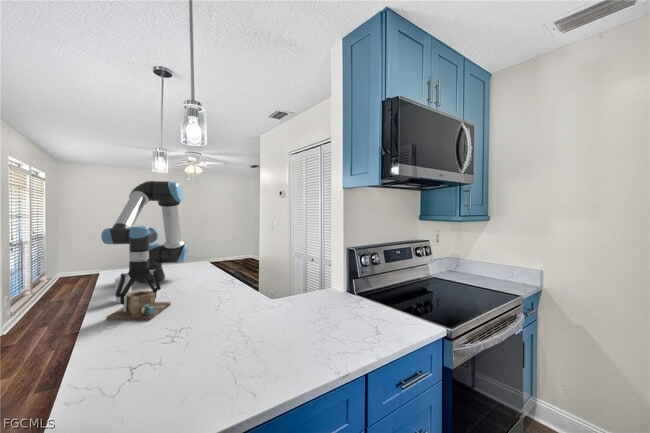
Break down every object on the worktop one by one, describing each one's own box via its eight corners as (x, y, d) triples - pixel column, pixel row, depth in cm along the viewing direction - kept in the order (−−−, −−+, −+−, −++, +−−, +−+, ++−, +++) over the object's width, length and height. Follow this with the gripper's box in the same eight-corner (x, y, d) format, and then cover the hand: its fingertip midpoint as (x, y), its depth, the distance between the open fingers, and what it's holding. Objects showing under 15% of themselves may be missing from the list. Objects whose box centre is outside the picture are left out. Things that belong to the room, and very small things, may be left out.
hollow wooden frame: (123, 309, 129) (123, 294, 129) (144, 304, 137) (144, 289, 136) (141, 317, 121) (141, 301, 121) (162, 311, 129) (163, 295, 128)
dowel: (142, 314, 124) (142, 307, 124) (145, 314, 124) (145, 307, 124) (140, 316, 123) (140, 308, 123) (143, 316, 123) (143, 308, 123)
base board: (132, 304, 139) (132, 301, 139) (170, 305, 140) (170, 302, 140) (106, 320, 121) (106, 316, 121) (149, 320, 122) (149, 316, 122)
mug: (134, 300, 146) (134, 276, 145) (121, 304, 140) (120, 280, 139) (122, 297, 150) (122, 274, 149) (108, 300, 144) (108, 277, 143)
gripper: (109, 264, 119) (109, 317, 120) (169, 258, 135) (168, 304, 136) (106, 261, 124) (106, 311, 125) (164, 256, 140) (163, 300, 141)
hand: (138, 308), depth 131 cm, fingers closed on hollow wooden frame, 10 cm apart
